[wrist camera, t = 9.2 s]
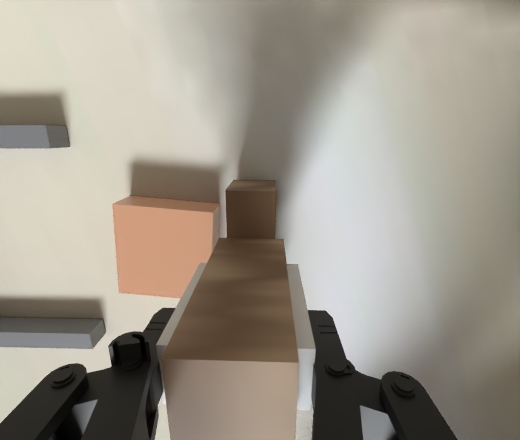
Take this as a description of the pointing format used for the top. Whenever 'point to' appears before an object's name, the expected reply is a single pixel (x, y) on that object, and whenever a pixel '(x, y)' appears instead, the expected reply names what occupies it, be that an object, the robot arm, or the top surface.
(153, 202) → the salmon square block
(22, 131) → the frame
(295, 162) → the top surface
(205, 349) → the stepped wooden beam
